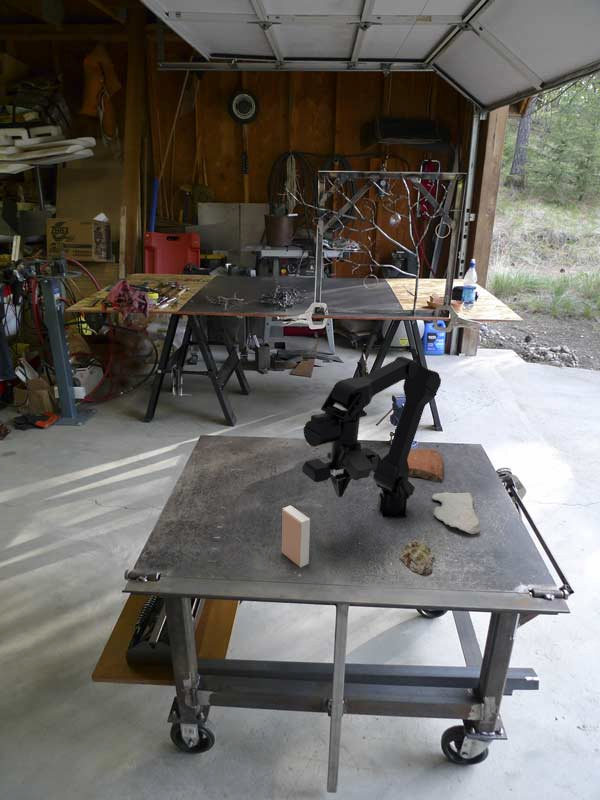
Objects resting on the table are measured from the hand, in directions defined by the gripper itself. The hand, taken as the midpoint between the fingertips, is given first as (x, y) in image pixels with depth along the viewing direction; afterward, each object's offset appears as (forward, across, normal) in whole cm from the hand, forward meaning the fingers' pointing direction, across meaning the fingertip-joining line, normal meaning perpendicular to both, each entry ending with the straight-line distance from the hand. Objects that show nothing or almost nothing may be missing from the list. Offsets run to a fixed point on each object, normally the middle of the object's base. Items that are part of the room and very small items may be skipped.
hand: (339, 496), depth 142 cm
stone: (+11, +34, -7) cm, 36 cm away
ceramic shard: (+10, +42, +17) cm, 47 cm away
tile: (+12, -12, -2) cm, 18 cm away
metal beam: (+13, -23, +19) cm, 32 cm away
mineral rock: (+12, +12, -17) cm, 24 cm away
